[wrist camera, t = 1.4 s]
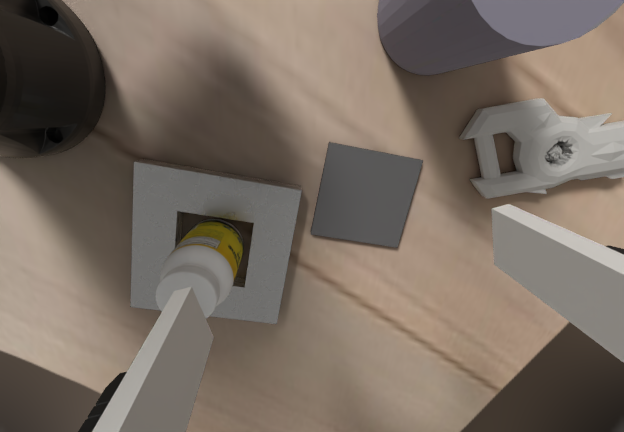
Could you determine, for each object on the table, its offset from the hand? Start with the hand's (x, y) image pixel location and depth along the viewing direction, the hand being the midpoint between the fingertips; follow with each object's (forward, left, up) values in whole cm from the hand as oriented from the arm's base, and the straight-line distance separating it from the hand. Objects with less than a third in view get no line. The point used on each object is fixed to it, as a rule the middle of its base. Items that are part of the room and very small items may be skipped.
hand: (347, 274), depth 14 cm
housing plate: (-9, -9, -21) cm, 24 cm away
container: (+8, +17, -21) cm, 28 cm away
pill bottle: (-9, -9, -21) cm, 25 cm away
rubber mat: (+6, -1, -21) cm, 22 cm away
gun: (+24, +8, -22) cm, 33 cm away
